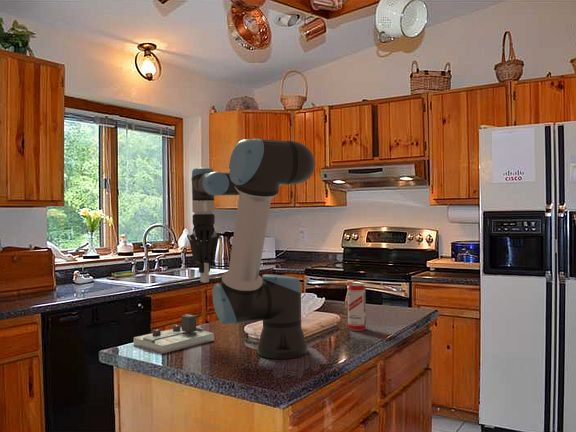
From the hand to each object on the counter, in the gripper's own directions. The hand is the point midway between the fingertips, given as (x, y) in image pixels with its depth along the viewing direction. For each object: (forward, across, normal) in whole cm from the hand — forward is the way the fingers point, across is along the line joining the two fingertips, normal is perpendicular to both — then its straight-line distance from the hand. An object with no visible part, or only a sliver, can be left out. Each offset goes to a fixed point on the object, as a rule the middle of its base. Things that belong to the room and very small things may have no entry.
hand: (204, 281), depth 180 cm
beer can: (+19, -39, +36) cm, 56 cm away
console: (+18, +13, 0) cm, 22 cm away
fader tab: (+16, +7, 0) cm, 17 cm away
